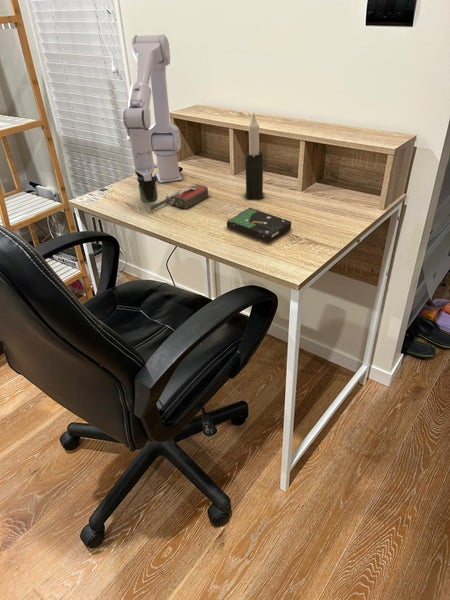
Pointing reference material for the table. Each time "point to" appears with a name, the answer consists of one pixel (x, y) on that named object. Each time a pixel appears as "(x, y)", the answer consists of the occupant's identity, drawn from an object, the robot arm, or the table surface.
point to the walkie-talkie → (185, 197)
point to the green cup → (142, 195)
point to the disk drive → (259, 225)
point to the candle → (254, 163)
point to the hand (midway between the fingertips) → (148, 195)
